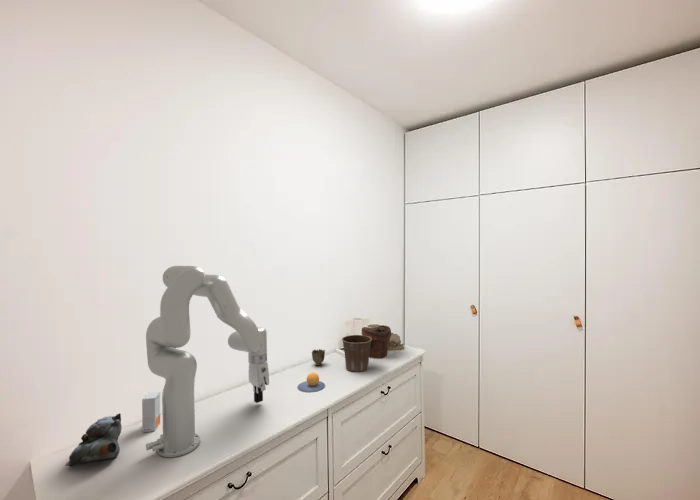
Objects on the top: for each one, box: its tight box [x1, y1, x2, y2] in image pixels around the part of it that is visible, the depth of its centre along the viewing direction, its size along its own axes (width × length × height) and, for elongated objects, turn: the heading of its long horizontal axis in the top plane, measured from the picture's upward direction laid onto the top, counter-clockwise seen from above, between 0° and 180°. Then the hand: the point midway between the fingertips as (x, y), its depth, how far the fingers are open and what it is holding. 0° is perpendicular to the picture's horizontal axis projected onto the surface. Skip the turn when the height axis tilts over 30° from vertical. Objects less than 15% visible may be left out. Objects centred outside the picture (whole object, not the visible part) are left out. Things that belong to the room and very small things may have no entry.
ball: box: [306, 371, 320, 386], centre depth 159 cm, size 6×6×6 cm
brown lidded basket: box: [360, 324, 392, 359], centre depth 203 cm, size 18×20×18 cm
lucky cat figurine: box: [64, 413, 122, 467], centre depth 106 cm, size 15×12×14 cm
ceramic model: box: [388, 332, 404, 351], centre depth 217 cm, size 14×11×10 cm
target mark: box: [296, 380, 326, 393], centre depth 158 cm, size 13×13×1 cm
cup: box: [311, 348, 326, 367], centre depth 187 cm, size 8×7×8 cm
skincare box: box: [141, 391, 161, 433], centre depth 123 cm, size 6×4×12 cm
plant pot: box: [341, 334, 372, 373], centre depth 181 cm, size 16×16×16 cm
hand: (258, 401), depth 140 cm, fingers closed
